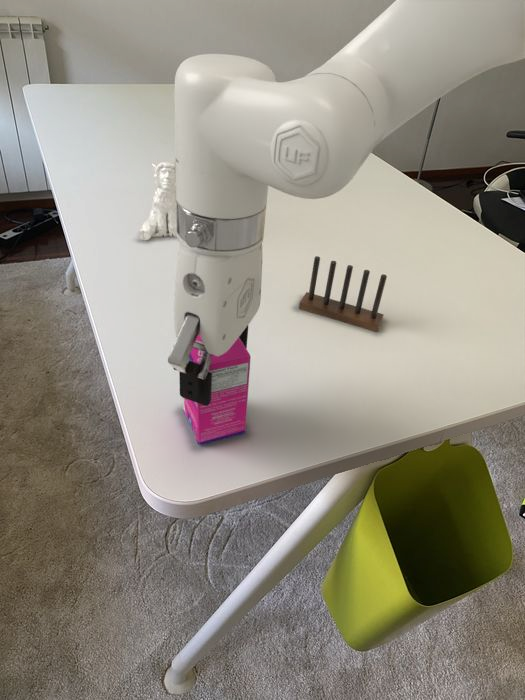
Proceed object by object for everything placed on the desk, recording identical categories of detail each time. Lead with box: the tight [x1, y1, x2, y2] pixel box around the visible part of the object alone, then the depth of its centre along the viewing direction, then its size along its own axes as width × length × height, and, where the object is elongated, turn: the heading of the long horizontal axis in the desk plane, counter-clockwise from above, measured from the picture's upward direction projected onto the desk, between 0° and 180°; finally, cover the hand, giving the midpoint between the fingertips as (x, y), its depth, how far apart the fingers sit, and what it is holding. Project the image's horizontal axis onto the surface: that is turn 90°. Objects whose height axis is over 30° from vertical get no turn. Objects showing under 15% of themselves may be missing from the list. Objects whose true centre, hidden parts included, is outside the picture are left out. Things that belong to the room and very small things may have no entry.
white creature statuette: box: [138, 161, 177, 241], centre depth 94 cm, size 10×9×12 cm
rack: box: [298, 255, 388, 333], centre depth 79 cm, size 12×3×8 cm, turn 68°
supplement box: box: [182, 334, 252, 446], centre depth 59 cm, size 6×6×12 cm
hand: (214, 373), depth 58 cm, fingers closed on supplement box, 8 cm apart
